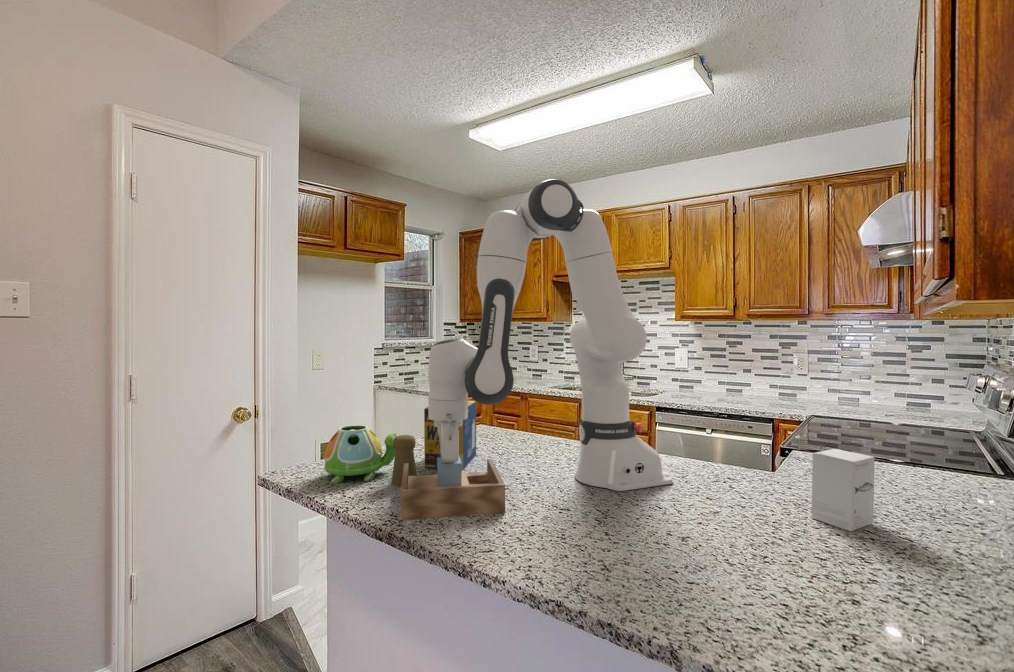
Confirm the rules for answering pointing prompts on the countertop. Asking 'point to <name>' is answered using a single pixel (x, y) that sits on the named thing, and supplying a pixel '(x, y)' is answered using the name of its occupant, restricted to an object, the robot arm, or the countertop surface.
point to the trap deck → (452, 495)
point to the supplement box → (843, 488)
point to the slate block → (449, 473)
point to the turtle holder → (357, 453)
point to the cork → (403, 457)
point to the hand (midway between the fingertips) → (448, 471)
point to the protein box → (465, 439)
